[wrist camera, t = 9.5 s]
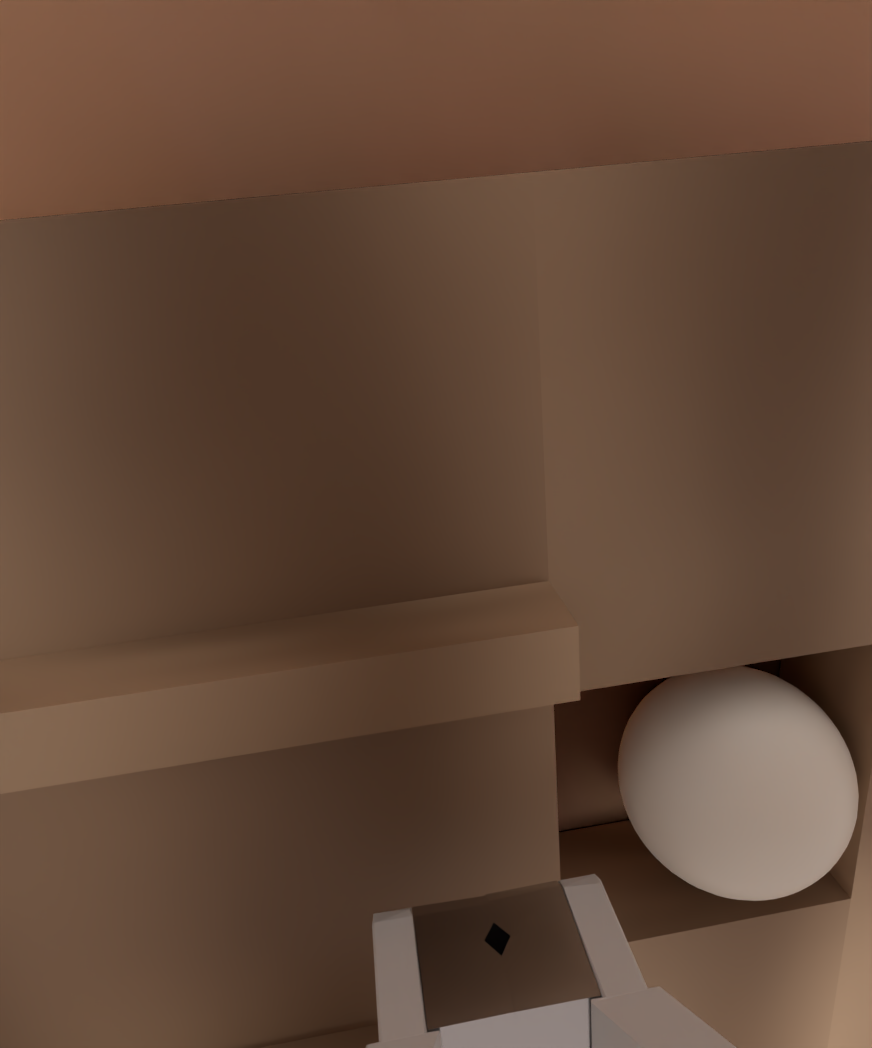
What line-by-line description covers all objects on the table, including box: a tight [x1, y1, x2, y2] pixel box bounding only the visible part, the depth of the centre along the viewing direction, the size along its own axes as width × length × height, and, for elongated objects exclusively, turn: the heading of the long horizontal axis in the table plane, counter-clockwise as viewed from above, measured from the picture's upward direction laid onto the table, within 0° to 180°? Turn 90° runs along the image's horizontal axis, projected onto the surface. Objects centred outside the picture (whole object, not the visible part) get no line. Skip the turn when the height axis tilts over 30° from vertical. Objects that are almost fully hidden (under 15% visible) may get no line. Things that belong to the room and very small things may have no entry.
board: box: [0, 141, 872, 1048], centre depth 11 cm, size 32×18×4 cm, turn 95°
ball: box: [618, 666, 859, 901], centre depth 12 cm, size 4×4×4 cm
